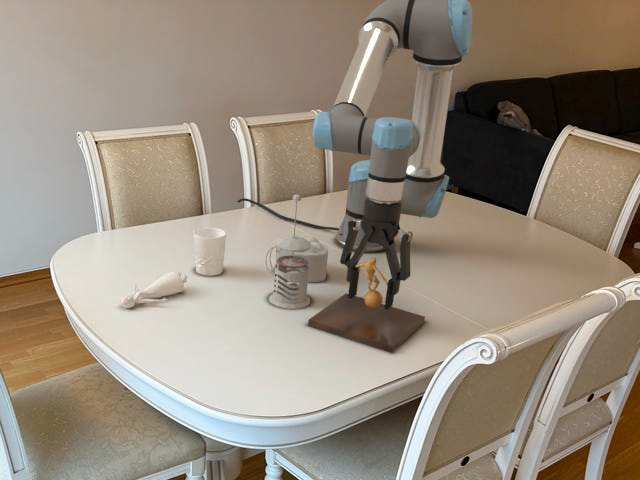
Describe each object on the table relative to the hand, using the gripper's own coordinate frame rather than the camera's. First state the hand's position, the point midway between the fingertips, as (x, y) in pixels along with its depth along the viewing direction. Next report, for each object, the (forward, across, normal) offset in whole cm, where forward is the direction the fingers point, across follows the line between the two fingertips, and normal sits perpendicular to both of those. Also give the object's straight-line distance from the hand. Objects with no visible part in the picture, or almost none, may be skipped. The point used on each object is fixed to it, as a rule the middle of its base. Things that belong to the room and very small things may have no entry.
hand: (370, 301), depth 153 cm
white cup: (+6, +45, -2) cm, 45 cm away
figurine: (+2, 0, 0) cm, 2 cm away
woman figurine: (+6, +45, +19) cm, 49 cm away
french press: (+6, +21, 0) cm, 22 cm away
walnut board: (+6, 0, 0) cm, 6 cm away
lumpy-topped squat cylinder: (+6, +26, -16) cm, 31 cm away
